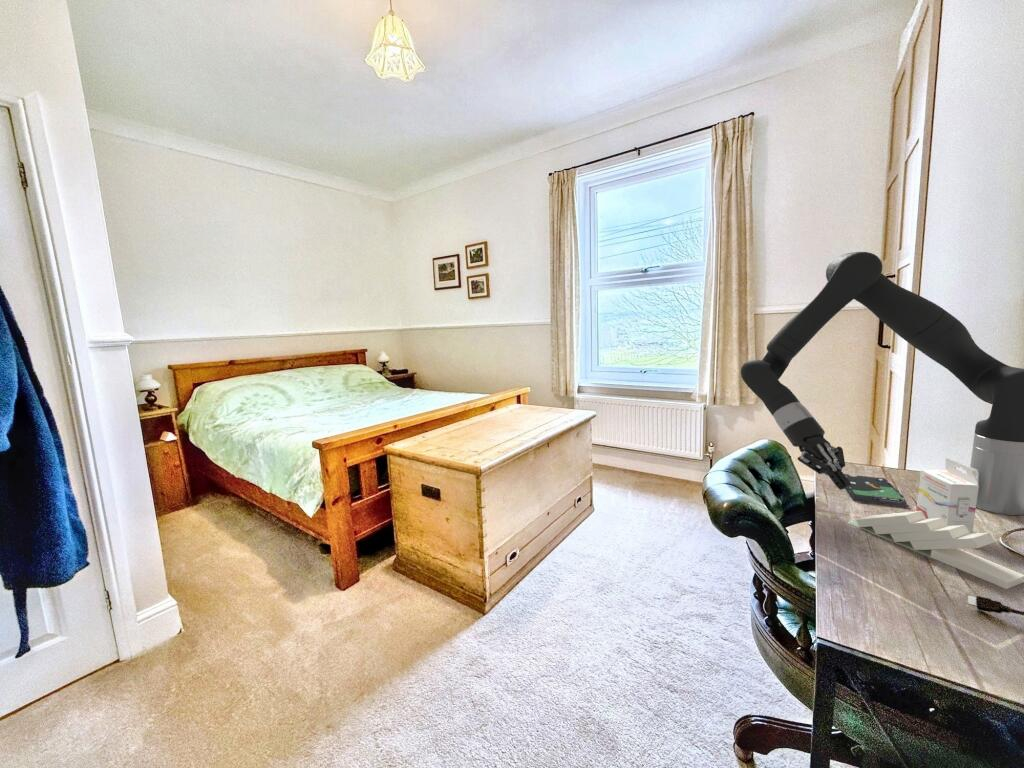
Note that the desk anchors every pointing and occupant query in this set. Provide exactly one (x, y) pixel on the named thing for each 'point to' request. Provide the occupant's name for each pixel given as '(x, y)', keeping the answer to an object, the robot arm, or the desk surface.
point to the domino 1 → (891, 519)
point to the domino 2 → (911, 526)
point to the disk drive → (874, 491)
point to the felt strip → (889, 537)
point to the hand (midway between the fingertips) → (846, 487)
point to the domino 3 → (932, 534)
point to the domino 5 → (978, 567)
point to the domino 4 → (955, 542)
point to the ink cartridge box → (949, 494)
